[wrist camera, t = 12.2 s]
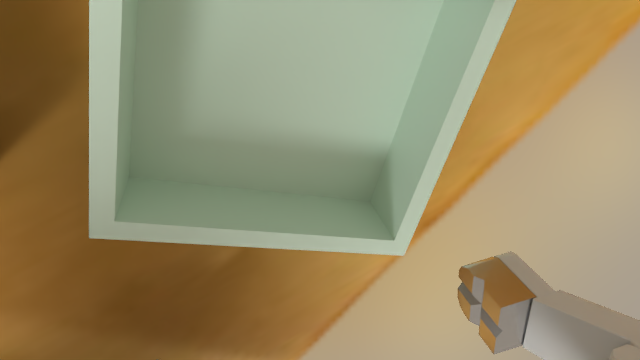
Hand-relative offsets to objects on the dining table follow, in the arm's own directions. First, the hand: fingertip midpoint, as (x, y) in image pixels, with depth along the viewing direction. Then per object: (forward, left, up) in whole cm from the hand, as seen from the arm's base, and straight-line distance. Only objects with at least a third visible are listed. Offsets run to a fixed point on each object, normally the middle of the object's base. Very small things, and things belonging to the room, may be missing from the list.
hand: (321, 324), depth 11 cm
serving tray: (+4, -1, -14) cm, 14 cm away
